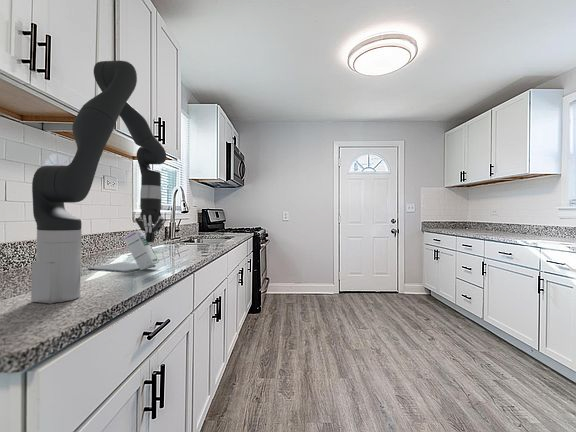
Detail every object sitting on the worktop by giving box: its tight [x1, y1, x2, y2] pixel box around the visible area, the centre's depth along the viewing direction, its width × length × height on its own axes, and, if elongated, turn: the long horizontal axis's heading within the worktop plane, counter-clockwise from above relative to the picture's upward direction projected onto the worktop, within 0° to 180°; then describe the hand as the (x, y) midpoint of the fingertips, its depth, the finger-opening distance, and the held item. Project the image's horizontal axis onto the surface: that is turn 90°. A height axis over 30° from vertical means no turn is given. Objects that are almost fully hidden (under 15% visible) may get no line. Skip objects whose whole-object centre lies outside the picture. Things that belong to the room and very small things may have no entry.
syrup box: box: [122, 230, 160, 271], centre depth 129 cm, size 6×6×14 cm
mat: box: [87, 262, 156, 273], centre depth 132 cm, size 16×18×1 cm
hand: (150, 242), depth 129 cm, fingers closed
